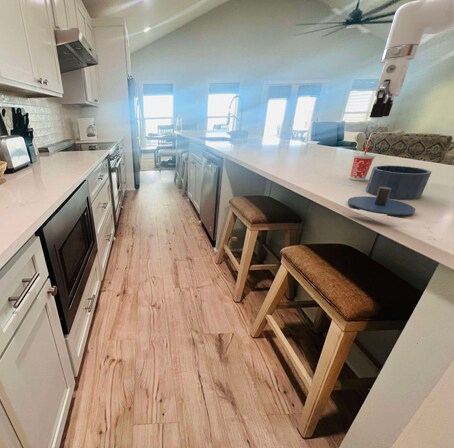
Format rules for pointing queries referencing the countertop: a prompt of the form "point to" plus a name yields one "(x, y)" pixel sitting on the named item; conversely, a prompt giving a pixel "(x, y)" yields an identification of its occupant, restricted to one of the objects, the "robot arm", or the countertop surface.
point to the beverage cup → (361, 165)
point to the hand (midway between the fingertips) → (379, 116)
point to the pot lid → (381, 204)
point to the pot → (399, 181)
